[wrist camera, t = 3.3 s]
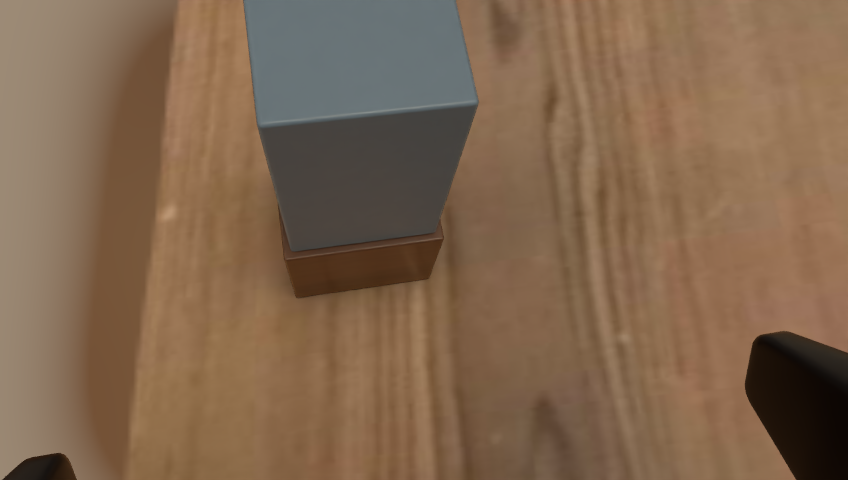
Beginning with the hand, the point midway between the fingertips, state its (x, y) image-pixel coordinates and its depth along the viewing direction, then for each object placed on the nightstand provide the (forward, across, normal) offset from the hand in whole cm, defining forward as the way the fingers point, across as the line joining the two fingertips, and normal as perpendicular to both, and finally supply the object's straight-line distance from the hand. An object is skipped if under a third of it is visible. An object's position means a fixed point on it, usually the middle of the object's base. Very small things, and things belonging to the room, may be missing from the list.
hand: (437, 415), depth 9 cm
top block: (+11, 0, +1) cm, 11 cm away
